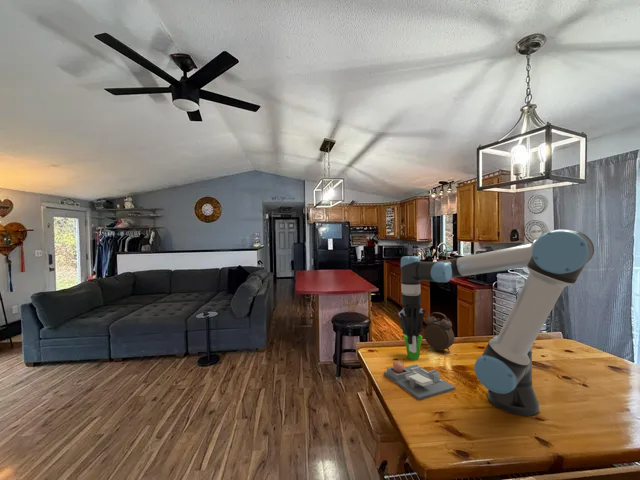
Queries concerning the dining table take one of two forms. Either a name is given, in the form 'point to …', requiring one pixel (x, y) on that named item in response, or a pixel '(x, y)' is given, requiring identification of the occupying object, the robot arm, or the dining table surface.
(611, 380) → the dining table surface
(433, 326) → the alarm clock
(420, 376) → the paddle
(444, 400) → the dining table surface
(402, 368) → the round button
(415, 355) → the cup
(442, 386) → the panel
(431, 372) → the slider knob
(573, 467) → the dining table surface
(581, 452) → the dining table surface
